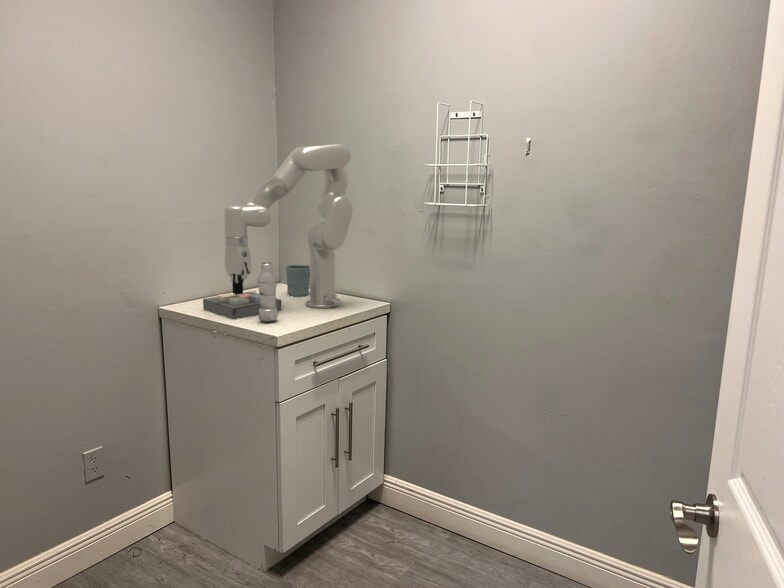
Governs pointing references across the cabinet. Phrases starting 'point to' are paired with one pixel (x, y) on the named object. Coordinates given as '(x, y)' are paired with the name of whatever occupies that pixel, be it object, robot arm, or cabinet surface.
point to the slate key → (254, 297)
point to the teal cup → (298, 280)
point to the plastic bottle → (267, 293)
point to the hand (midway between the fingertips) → (237, 293)
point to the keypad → (234, 307)
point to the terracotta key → (243, 295)
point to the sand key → (225, 297)
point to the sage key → (238, 300)
